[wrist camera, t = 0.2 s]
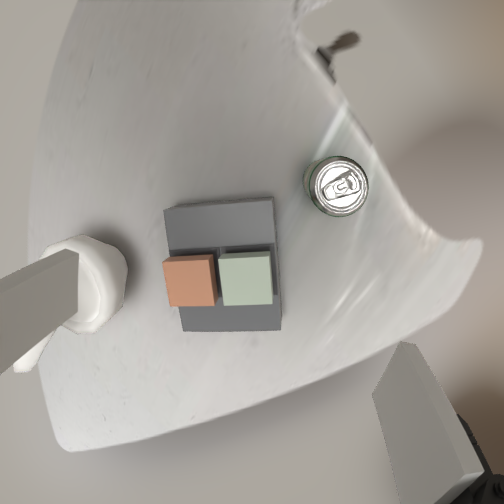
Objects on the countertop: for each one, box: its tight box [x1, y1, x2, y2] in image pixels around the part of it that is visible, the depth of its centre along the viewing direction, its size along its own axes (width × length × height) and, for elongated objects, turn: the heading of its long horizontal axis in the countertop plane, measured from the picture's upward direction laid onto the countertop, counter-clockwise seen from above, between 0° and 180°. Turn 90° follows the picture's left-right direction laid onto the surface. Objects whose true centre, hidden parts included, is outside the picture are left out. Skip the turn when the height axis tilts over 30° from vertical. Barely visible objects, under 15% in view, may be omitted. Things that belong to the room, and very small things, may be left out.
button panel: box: [163, 197, 282, 332], centre depth 37 cm, size 15×12×4 cm
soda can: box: [303, 156, 369, 217], centre depth 30 cm, size 5×5×12 cm
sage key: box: [218, 251, 273, 306], centre depth 33 cm, size 5×5×2 cm
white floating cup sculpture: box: [13, 234, 128, 372], centre depth 30 cm, size 13×12×25 cm
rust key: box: [162, 254, 218, 306], centre depth 33 cm, size 5×5×2 cm
